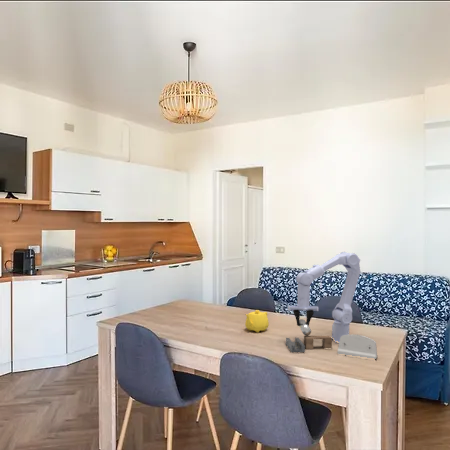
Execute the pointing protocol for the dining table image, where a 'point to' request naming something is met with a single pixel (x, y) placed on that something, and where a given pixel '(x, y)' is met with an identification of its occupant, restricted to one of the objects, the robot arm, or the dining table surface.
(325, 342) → the beam
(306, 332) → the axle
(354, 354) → the hinge
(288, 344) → the v block
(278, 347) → the dining table surface
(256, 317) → the teapot
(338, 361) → the dining table surface
